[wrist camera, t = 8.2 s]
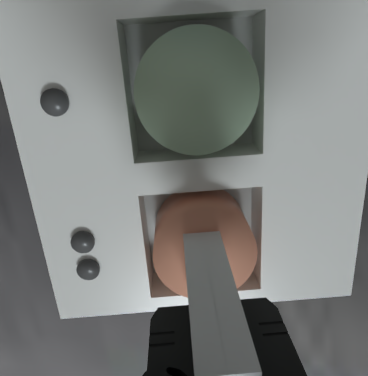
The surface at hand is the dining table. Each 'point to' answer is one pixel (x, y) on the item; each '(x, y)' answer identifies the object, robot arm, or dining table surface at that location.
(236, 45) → the sage button
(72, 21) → the button panel
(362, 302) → the dining table surface
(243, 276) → the terracotta button
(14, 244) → the dining table surface
